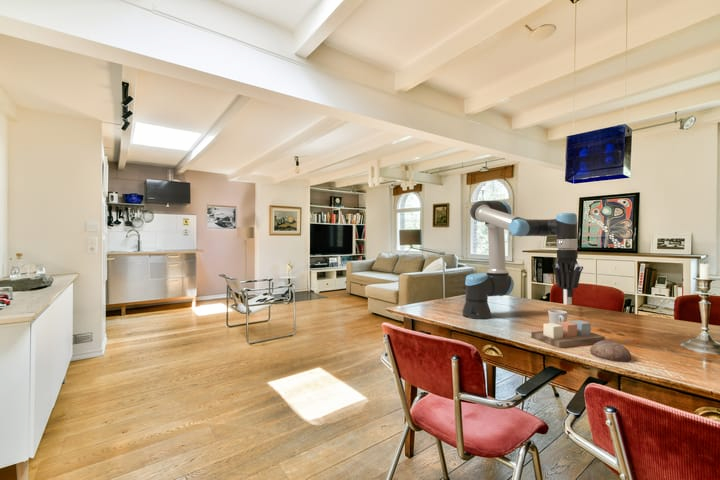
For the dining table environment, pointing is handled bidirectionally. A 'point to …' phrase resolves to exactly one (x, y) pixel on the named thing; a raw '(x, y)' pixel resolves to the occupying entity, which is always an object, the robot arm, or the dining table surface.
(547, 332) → the block cream
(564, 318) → the cup
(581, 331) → the block slate
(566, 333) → the block terracotta
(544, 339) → the walnut board
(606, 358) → the decorative stone
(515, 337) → the dining table surface
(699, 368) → the dining table surface
